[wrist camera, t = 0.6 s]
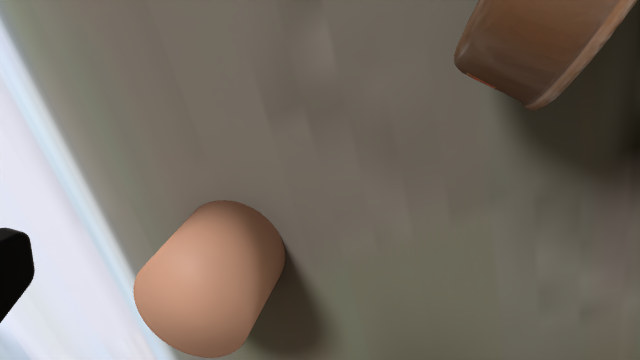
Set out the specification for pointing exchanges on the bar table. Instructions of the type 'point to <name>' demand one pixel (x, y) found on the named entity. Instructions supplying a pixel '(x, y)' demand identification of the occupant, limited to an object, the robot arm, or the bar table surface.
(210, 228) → the peach rounded block
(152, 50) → the bar table surface
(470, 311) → the bar table surface
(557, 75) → the tin
